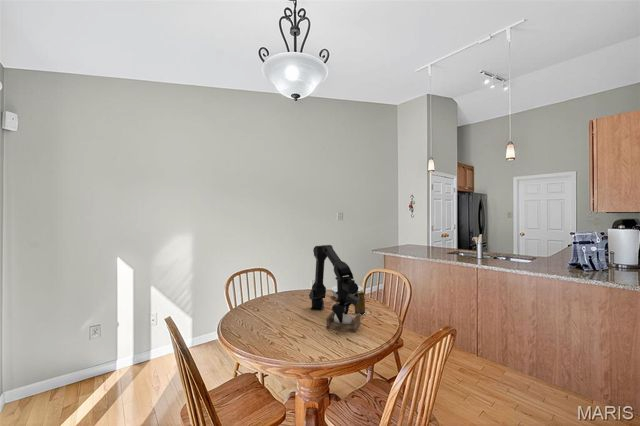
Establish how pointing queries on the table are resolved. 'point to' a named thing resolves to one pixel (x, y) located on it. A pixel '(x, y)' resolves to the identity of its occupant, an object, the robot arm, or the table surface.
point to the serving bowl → (334, 290)
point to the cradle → (340, 326)
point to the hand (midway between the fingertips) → (343, 319)
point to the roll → (344, 319)
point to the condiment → (360, 304)
